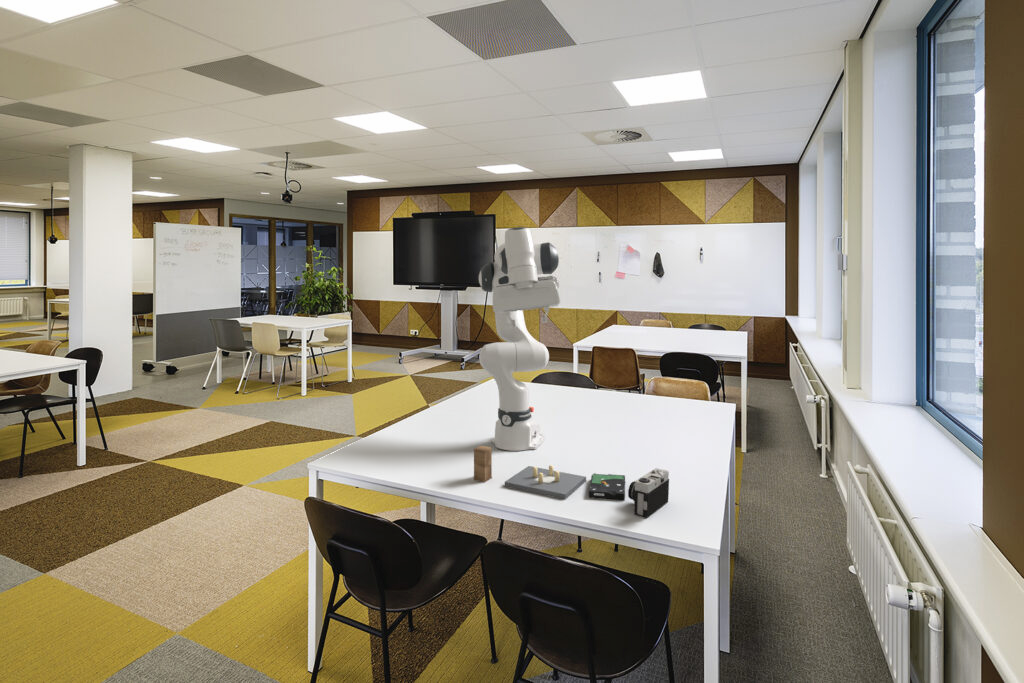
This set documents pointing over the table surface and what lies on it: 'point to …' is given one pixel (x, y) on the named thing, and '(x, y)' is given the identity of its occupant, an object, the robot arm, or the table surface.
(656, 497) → the camera
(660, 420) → the table surface
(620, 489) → the disk drive
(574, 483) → the standoff plate
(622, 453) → the table surface
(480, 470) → the walnut block
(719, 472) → the table surface
